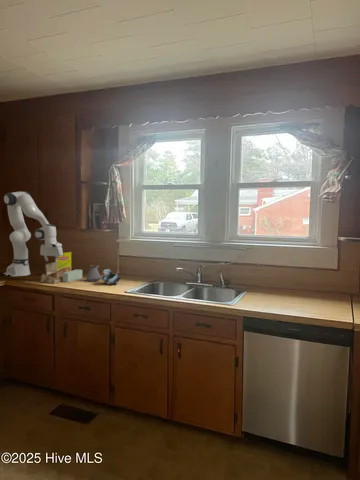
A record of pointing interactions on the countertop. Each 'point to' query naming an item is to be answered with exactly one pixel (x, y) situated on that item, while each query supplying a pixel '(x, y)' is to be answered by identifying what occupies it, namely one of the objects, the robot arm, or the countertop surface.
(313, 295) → the countertop surface
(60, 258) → the food package
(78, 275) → the slot stand
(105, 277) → the blue-grey irregular lump
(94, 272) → the coffee pot
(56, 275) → the offcut top
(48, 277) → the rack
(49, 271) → the birch sheet
